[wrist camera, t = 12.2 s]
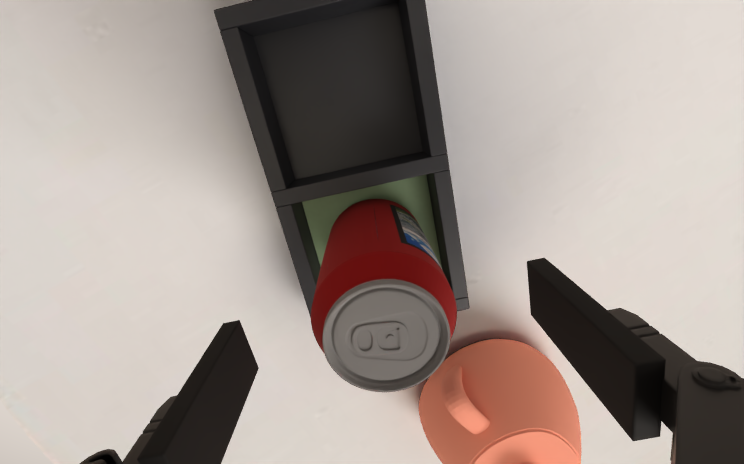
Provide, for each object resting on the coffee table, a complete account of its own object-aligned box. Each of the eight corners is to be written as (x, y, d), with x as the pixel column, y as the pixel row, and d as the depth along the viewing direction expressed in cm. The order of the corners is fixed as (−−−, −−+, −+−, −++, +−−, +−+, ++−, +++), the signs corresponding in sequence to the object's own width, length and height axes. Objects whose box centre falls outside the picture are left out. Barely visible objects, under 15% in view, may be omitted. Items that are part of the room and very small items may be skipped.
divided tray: (235, 24, 22) (212, 9, 19) (409, -18, 22) (419, -42, 18) (322, 312, 29) (317, 340, 26) (457, 285, 28) (470, 309, 25)
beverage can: (422, 278, 27) (466, 399, 16) (334, 285, 27) (315, 411, 16) (420, 191, 25) (469, 260, 14) (324, 198, 25) (293, 273, 14)
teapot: (486, 286, 29) (543, 368, 20) (600, 413, 33) (688, 526, 24) (373, 372, 31) (379, 480, 22) (494, 479, 36) (539, 604, 27)
